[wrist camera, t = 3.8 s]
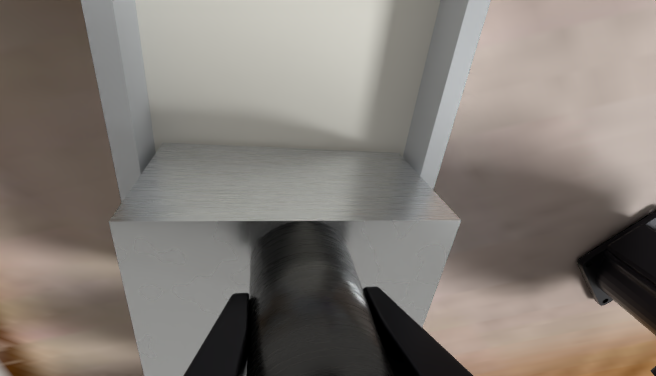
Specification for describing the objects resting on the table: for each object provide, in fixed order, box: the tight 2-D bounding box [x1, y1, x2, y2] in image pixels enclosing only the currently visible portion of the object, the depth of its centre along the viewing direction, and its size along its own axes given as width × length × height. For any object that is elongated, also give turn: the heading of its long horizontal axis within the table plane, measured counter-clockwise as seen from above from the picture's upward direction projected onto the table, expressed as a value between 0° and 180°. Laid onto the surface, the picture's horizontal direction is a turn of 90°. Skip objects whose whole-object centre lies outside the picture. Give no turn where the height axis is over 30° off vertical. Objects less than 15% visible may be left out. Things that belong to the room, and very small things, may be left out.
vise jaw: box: [109, 143, 461, 376], centre depth 12 cm, size 8×10×10 cm
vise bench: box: [81, 0, 491, 203], centre depth 14 cm, size 33×13×8 cm, turn 173°
